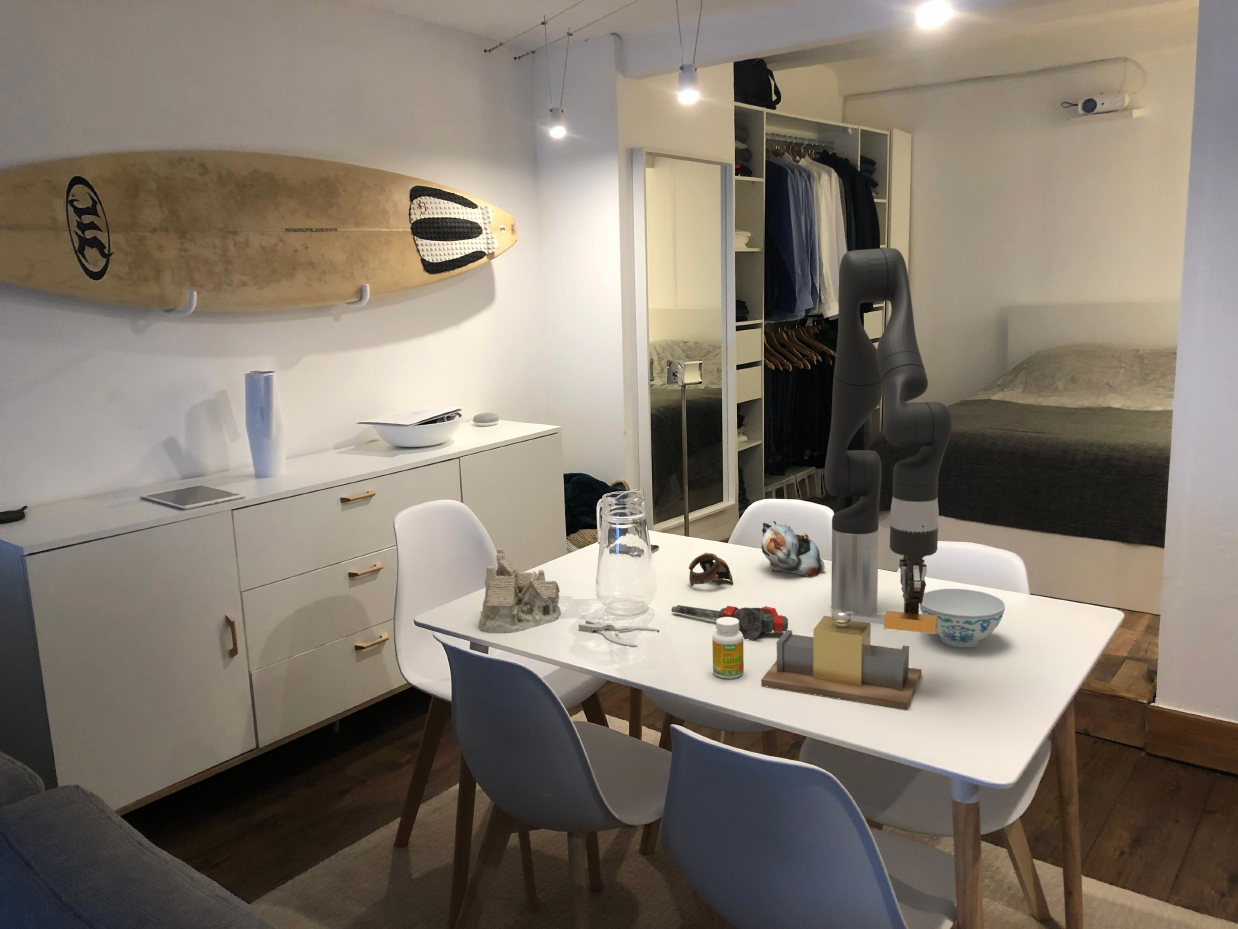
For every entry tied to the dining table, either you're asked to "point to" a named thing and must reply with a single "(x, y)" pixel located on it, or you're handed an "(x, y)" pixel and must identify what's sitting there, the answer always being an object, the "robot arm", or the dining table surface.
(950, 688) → the dining table surface
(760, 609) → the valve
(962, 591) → the chinaware
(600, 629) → the pliers
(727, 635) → the supplement bottle
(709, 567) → the brown openwork dome
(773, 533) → the lucky cat figurine
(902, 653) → the valve and pipe
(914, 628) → the valve lever
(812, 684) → the walnut board
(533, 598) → the ceramic cottage
